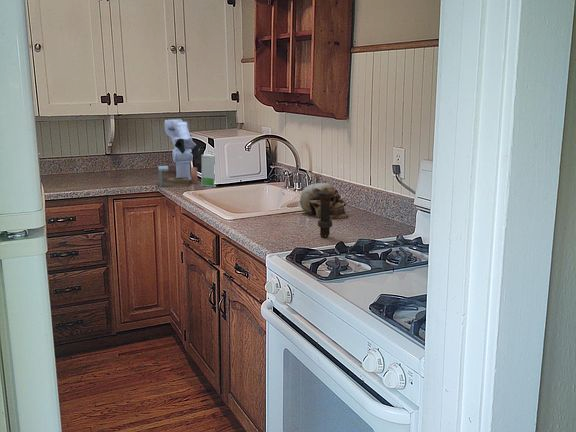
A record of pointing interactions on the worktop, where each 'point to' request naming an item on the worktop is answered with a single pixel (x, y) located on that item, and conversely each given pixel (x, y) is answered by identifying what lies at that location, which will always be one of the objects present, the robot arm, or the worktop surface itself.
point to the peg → (194, 175)
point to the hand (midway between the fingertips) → (189, 154)
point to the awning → (160, 169)
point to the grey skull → (312, 201)
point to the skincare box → (208, 170)
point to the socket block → (175, 181)
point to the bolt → (325, 212)
